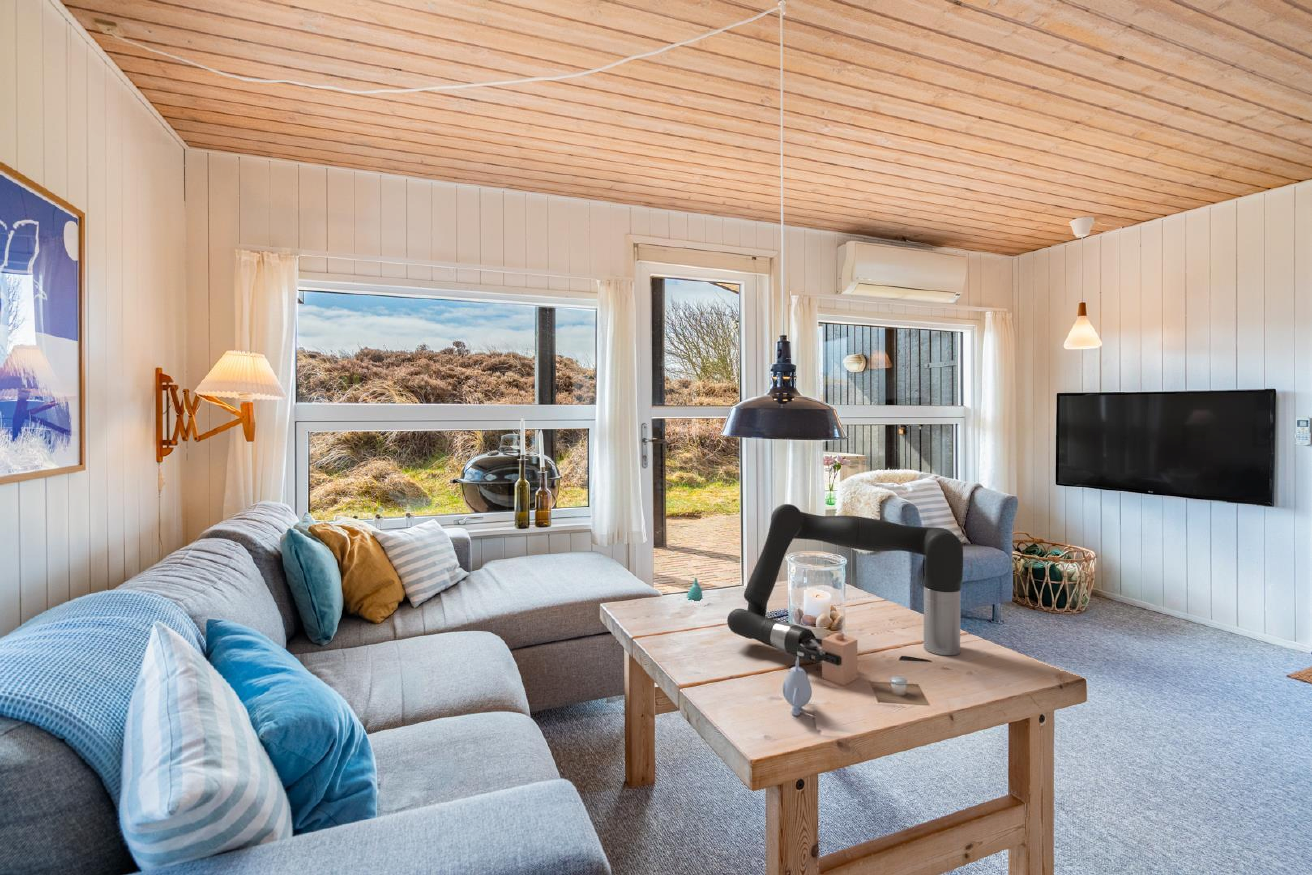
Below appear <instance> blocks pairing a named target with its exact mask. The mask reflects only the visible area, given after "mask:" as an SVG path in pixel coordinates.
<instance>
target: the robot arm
mask: <svg viewBox="0 0 1312 875" xmlns="http://www.w3.org/2000/svg"><path fill="white" fill-rule="evenodd" d="M793 540H809V541H810V540H811V541H819V542H824V543H827V544H832V545H836V546H840V547H845V548H850V549H854V550H861V551H866V552H896V551H897V552H907V553H913V554H917V555H922V556H924V557H925V575H924V577H923V649H925V651H927V652H929V653H932V654H935V655H941V656H956V655H959V654H960V652H961V613H962V612H961V608H962V607H961V606H962V605H961V602H962V601H961V599H962V598H961V597H962V596H961V587H962V586H961V585H962V581H963V575H964V574H963V573H964V546H963V544H962V541H961V540H960V538H959V537H958V536H957V535H955V533H953V532H952V531H951V530H949V529H947V528H943V527H931V526H912V525H904V524H899V523H895V522H891V521H885V520H881V519H877V518H876V519H875V518H870V517H864V516H857V515H817V514H812V513H807V512H803V511H801V510H800V509H799V507H797V506H795V505H794V504H790V503H785V504H781V505H779V506H777V507H776V508H775V509H774V510H773V511H772V513H771V516H770V524H769V529H768V533H767V537H766V540H765V543H764V546H763V547H762V548H763V549H762V551H761V553H760V556H759V558H758V560H757V562H756V564H755V566H754V569H753V571H752V573H751V575H750V578H749V581H748V583H747V585H746V588H745V590H744V593H743V597H744V599H745V601H746V602H747V603H748V604H747V609H744V608H735V609H733V610H732V611H731V612H729V613H728V615H727V626H728V628H729V630H730V631H731V632H732V633H734V634H735V635H739V636H741V637H743V638H746V639H750V640H756V641H758V642H759V643H762V644H764V645H766V646H769V647H772V648H775V649H776V650H779V651H780V652H783V653H786V654H789V655H791V656H795V657H796V658H797V657H799V660H803V661H806V662H807V661H808V662H810V663H814V664H820V662H821V663H822V662H829V663H832V664H835V665H837V666H839V665H841V657H840V656H838V655H835V654H832V653H829V652H827V653H826V651H824V650H822V639H823V638H824V637H821V636H820V637H819V636H816V635H815V634H814V631H813V630H812V629H810V628H808V627H807V628H806V627H804V626H800V625H797V624H794V623H790V622H787V621H786V622H785V621H780V620H777V619H775V618H769V617H766V615H767V608H768V602H769V601H770V600H769V599H770V598H771V595H772V593H773V590H774V587H775V585H776V582H777V580H778V576H779V573H780V570H781V567H782V564H783V562H784V558H785V556H786V553H787V551H788V549H789V547H790V545H791V543H792V542H793ZM828 636H830V635H829V634H827V635H826V637H828Z"/></svg>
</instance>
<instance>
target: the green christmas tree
mask: <svg viewBox="0 0 1312 875" xmlns="http://www.w3.org/2000/svg"><path fill="white" fill-rule="evenodd" d="M686 594H687V595H686V599H687V598H689V599H688V600H694V601H700V600H701V599H704V598H703V590H702V588H701V586H700V584H699V582H698V578H697V577H694V580H693V583H692V586H691V587H690V589H689V590H688V592H687V593H686Z"/></svg>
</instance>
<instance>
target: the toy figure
mask: <svg viewBox="0 0 1312 875" xmlns="http://www.w3.org/2000/svg"><path fill="white" fill-rule="evenodd" d="M812 693H813V691H812V686H811V682H810V678H809V677H808V675H807V673H806V671H805V670H804V668H803V667H802V666H801V667H800V659H799V657H797V656H796V660H795V666H793V667H791V668H790V669H789V670H788V673H787V675H786V676H785V679H784V681H783V684H782V694H783V697H784V699H785V700H786V702H787V703H788V704H789V705H791V706H792V709H791V711H790V714H791V715H792V716H797V717H798V716H800V714H801V712H802V711H801V710H802V707H805V706H806V705H807V704H808V703H809V702H810V700H811V698H812Z"/></svg>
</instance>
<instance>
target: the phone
mask: <svg viewBox="0 0 1312 875" xmlns="http://www.w3.org/2000/svg"><path fill="white" fill-rule="evenodd" d="M898 661H902V662H903V661H904V662H905V661H906V662H921V663H922V662H923V663H933V660H931V659H925V658H920V657H914V656H908V655H901V656H900V657H899V660H898Z"/></svg>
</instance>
